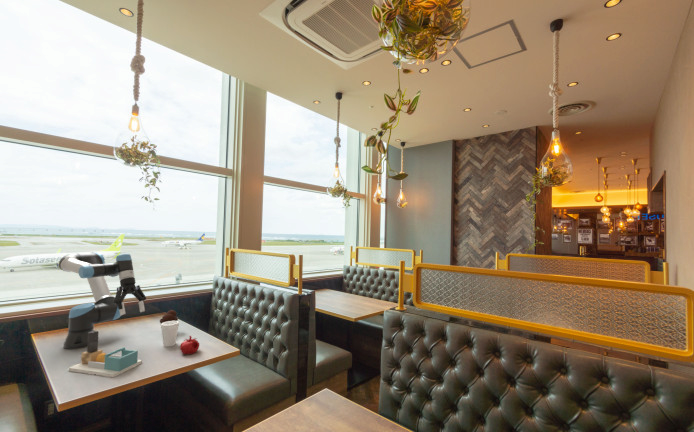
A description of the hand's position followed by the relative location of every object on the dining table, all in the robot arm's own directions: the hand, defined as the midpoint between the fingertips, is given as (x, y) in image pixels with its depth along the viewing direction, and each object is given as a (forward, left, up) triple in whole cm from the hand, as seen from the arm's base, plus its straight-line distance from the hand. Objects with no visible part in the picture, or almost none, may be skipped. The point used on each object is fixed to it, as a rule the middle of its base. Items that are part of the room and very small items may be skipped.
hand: (133, 313), depth 183 cm
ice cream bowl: (+2, +26, -20) cm, 33 cm away
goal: (+19, -24, -19) cm, 36 cm away
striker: (+1, -24, -18) cm, 30 cm away
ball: (+7, -24, -16) cm, 30 cm away
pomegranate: (+38, +2, -20) cm, 43 cm away
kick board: (+11, -24, -20) cm, 33 cm away
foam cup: (+18, +9, -20) cm, 28 cm away
